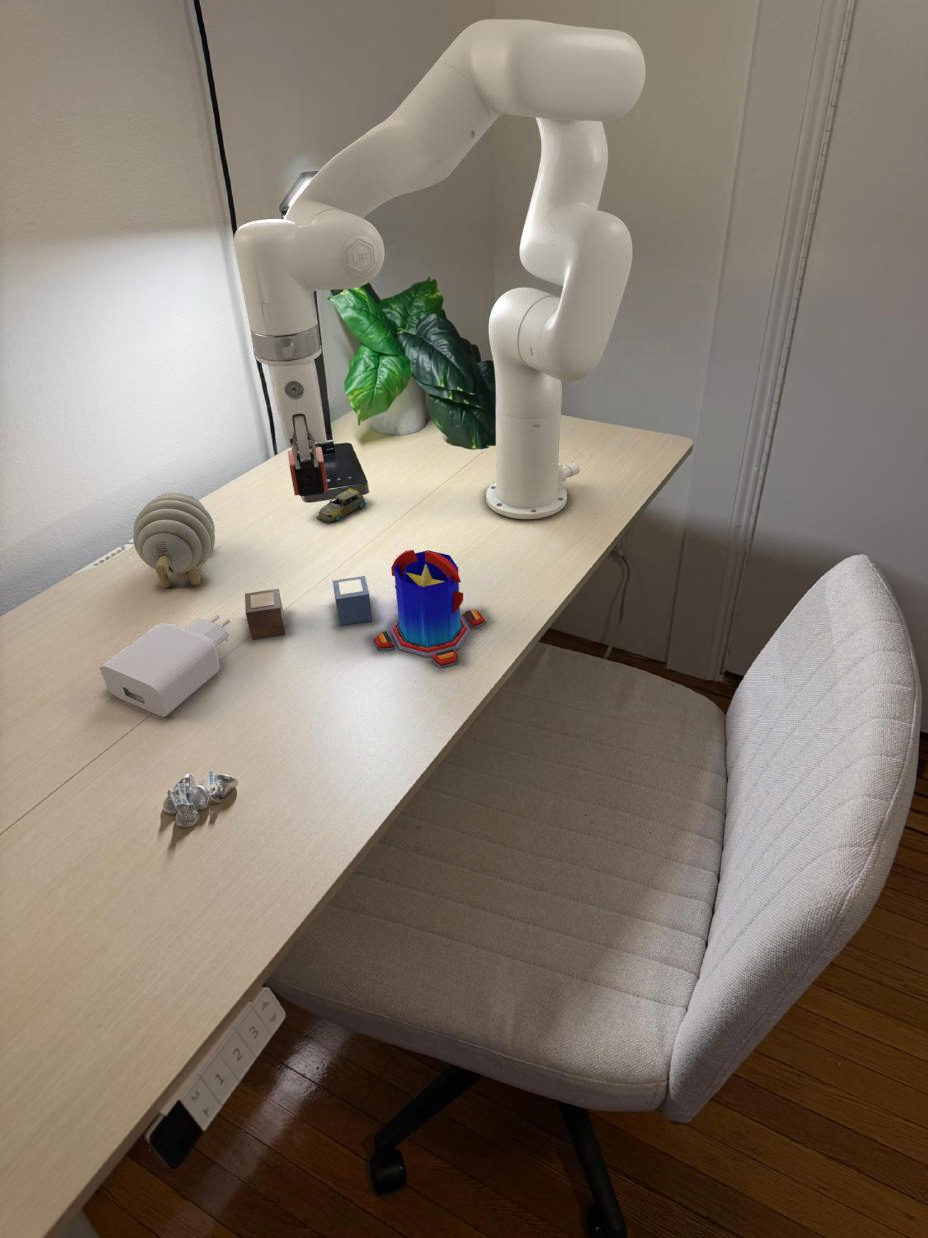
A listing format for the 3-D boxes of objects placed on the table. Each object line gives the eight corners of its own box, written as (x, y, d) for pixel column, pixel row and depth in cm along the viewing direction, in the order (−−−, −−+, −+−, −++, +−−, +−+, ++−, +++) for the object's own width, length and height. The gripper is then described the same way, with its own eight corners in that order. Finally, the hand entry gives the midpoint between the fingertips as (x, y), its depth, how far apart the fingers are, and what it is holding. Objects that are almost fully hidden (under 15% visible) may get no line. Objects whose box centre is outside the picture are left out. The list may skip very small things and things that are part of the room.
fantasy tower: (365, 647, 100) (355, 566, 93) (409, 595, 109) (403, 516, 102) (453, 671, 96) (449, 589, 89) (491, 615, 105) (491, 535, 98)
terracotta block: (325, 476, 106) (321, 445, 104) (328, 491, 103) (323, 460, 100) (293, 480, 106) (287, 449, 103) (294, 495, 102) (289, 464, 100)
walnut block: (284, 614, 106) (278, 587, 104) (285, 634, 103) (280, 607, 100) (251, 619, 106) (244, 592, 103) (251, 639, 102) (245, 612, 100)
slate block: (368, 601, 108) (364, 575, 105) (372, 620, 105) (369, 593, 102) (336, 606, 107) (332, 579, 105) (339, 625, 104) (335, 598, 101)
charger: (255, 644, 102) (167, 720, 91) (200, 623, 105) (109, 694, 95) (248, 613, 99) (157, 688, 88) (191, 593, 102) (97, 663, 92)
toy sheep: (225, 536, 122) (209, 469, 115) (220, 602, 109) (201, 530, 102) (152, 545, 121) (131, 477, 114) (137, 612, 107) (113, 541, 101)
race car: (314, 517, 126) (311, 502, 124) (353, 497, 130) (351, 483, 129) (329, 525, 124) (327, 510, 122) (368, 504, 128) (367, 490, 127)
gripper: (325, 363, 87) (346, 513, 98) (314, 315, 100) (334, 452, 111) (254, 371, 86) (283, 522, 97) (252, 321, 99) (278, 459, 110)
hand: (310, 483), depth 104 cm, fingers closed on terracotta block, 4 cm apart
